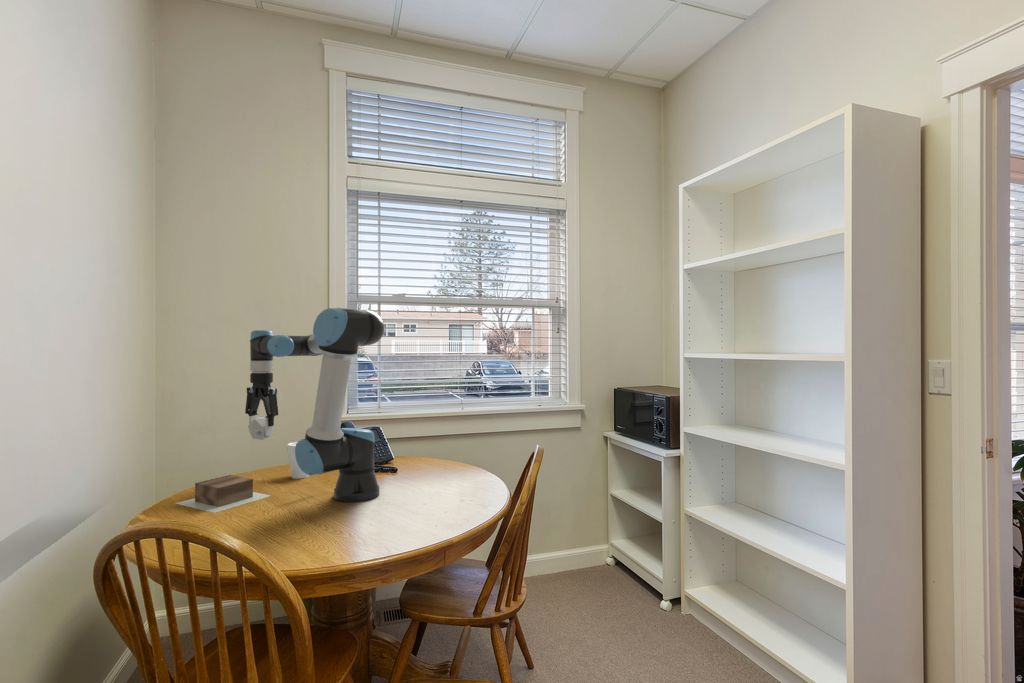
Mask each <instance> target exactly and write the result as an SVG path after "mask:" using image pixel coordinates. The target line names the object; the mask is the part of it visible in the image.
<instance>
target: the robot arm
mask: <svg viewBox="0 0 1024 683" xmlns="http://www.w3.org/2000/svg"><path fill="white" fill-rule="evenodd" d="M384 333H385V325H384V322H383V319H382V318H381V316H380V315H378V314H377V313H375V312H374V311H372V310H368V309H354V308H343V307H342V308H341V307H334V308H332V307H331V308H330V307H329V308H326V309H323V310H322V311H321V312H319V314H318V315H317V316H316V319H315V320H314V323H313V328H312V334H309V335H283V334H277V335H274V332H273V331H272V330H269V329H268V330H266V329H265V330H264V329H263V330H262V329H259V330H257V329H256V330H252V331H251V332H250V340H249V344H250V346H249V348H250V349H249V350H250V353H249V354H250V356H249V357H250V362H249V363H250V365H249V368H250V369H249V371H250V375H249V376H250V377H249V380H250V383H251V384H252V386H250V387H249V386H248V387H246V401H245V408H244V413H245V414H246V415H248V416H249V424H250V423H251V422H252V421H253V420H254V419H256V418H259V414H258V413H257V412H258V410H259V406H260V403H261V400H262V402H263V406H264V410H265V413H266V414H265V415H266V416H265V436H268V435H270V436H272V435H274V432H273V428H274V424H275V423H274V422H275V421H274V420H275V416H279V407H278V398H277V397H278V396H277V393H278V389H277V388H276V387H275V388H274V387H273V388H272V385H271V384H272V383H273V382H274V381H273V380H274V373H273V372H272V371H274V370H273V369H274V368H273V366H274V364H273V363H274V362H273V360H274V357H276V358H283V357H310V356H311V357H317V356H322V360H321V363H320V364H321V365H320V372H319V376H318V377H319V379H318V385H317V390H316V397H315V403H314V411H313V418H312V423H311V426H310V427H308V428H307V429H306V430H305V435H304V438H302V439H300V440H299V441H297V442H298V443H297V444H296V447H295V457H296V461H297V463H298V466H299V468H300V469H301V470H302V472H304V473H305V474H307V475H309V476H316V475H323V474H325V473H329V472H330V473H331V472H334V471H339V472H338V477H337V481H336V484H335V488H334V489H333V498H334V500H336V501H338V502H343V503H344V502H345V503H347V502H349V503H351V502H352V503H353V502H354V503H355V502H364V501H369V500H373V499H375V498H377V497H378V496H379V495H380V485H379V483H378V481H377V477H376V473H375V447H376V446H375V444H376V441H375V440H376V439H375V433H374V431H373V430H371V429H366V428H358V427H357V428H356V427H342V428H341V423H342V419H343V418H342V417H343V411H344V406H345V398H346V393H347V387H348V382H349V381H348V380H349V374H350V367H351V362H352V358H353V357H355V356H356V355H357V354H358V351H359V350H358V349H359V347H360V346H361V347H365V346H370V345H371V346H372V345H374V344H376V343H378V342H380V340H381V339H382V338H383V336H384Z"/></svg>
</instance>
